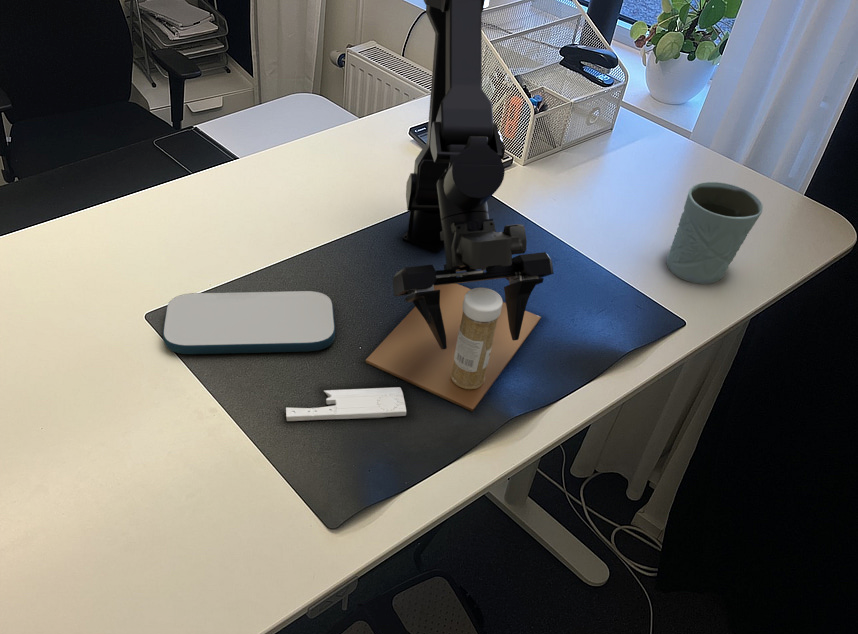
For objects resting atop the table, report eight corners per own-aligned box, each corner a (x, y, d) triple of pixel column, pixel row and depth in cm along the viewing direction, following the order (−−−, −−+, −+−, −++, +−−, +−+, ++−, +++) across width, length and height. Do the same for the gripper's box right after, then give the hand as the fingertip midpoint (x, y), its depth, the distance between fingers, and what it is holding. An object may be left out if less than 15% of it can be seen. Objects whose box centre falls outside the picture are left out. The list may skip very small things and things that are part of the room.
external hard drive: (161, 358, 102) (159, 347, 100) (169, 303, 110) (167, 292, 108) (336, 354, 103) (337, 343, 101) (331, 300, 111) (332, 289, 109)
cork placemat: (365, 362, 102) (365, 359, 101) (441, 280, 114) (442, 277, 114) (472, 411, 96) (473, 409, 95) (540, 319, 108) (541, 316, 108)
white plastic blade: (285, 392, 97) (285, 386, 97) (400, 388, 98) (401, 382, 98) (286, 421, 94) (286, 415, 93) (406, 417, 95) (406, 411, 94)
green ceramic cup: (650, 267, 118) (677, 199, 109) (679, 240, 123) (707, 173, 114) (713, 295, 113) (746, 226, 104) (740, 266, 118) (774, 198, 109)
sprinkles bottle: (491, 382, 99) (511, 301, 89) (464, 395, 97) (482, 314, 87) (468, 362, 101) (485, 281, 92) (442, 374, 100) (456, 293, 90)
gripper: (407, 209, 83) (425, 350, 83) (566, 193, 85) (582, 330, 86) (384, 230, 94) (400, 355, 94) (526, 215, 97) (540, 337, 97)
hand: (480, 344), depth 93 cm, fingers open, 9 cm apart
